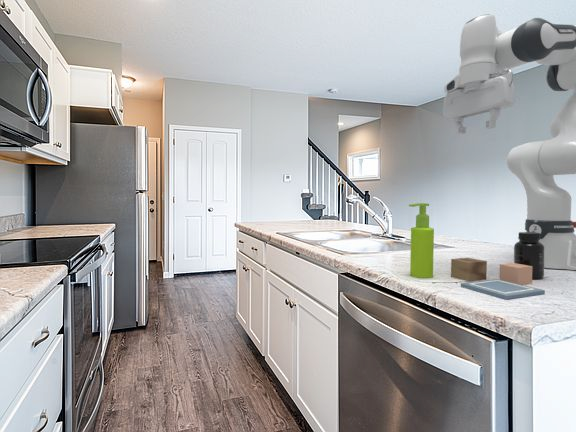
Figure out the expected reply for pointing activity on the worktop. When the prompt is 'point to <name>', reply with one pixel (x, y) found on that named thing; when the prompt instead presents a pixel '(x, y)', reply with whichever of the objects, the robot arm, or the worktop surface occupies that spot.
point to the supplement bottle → (530, 253)
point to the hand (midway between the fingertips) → (475, 131)
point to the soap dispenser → (422, 245)
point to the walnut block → (468, 269)
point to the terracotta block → (516, 273)
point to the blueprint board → (502, 289)
